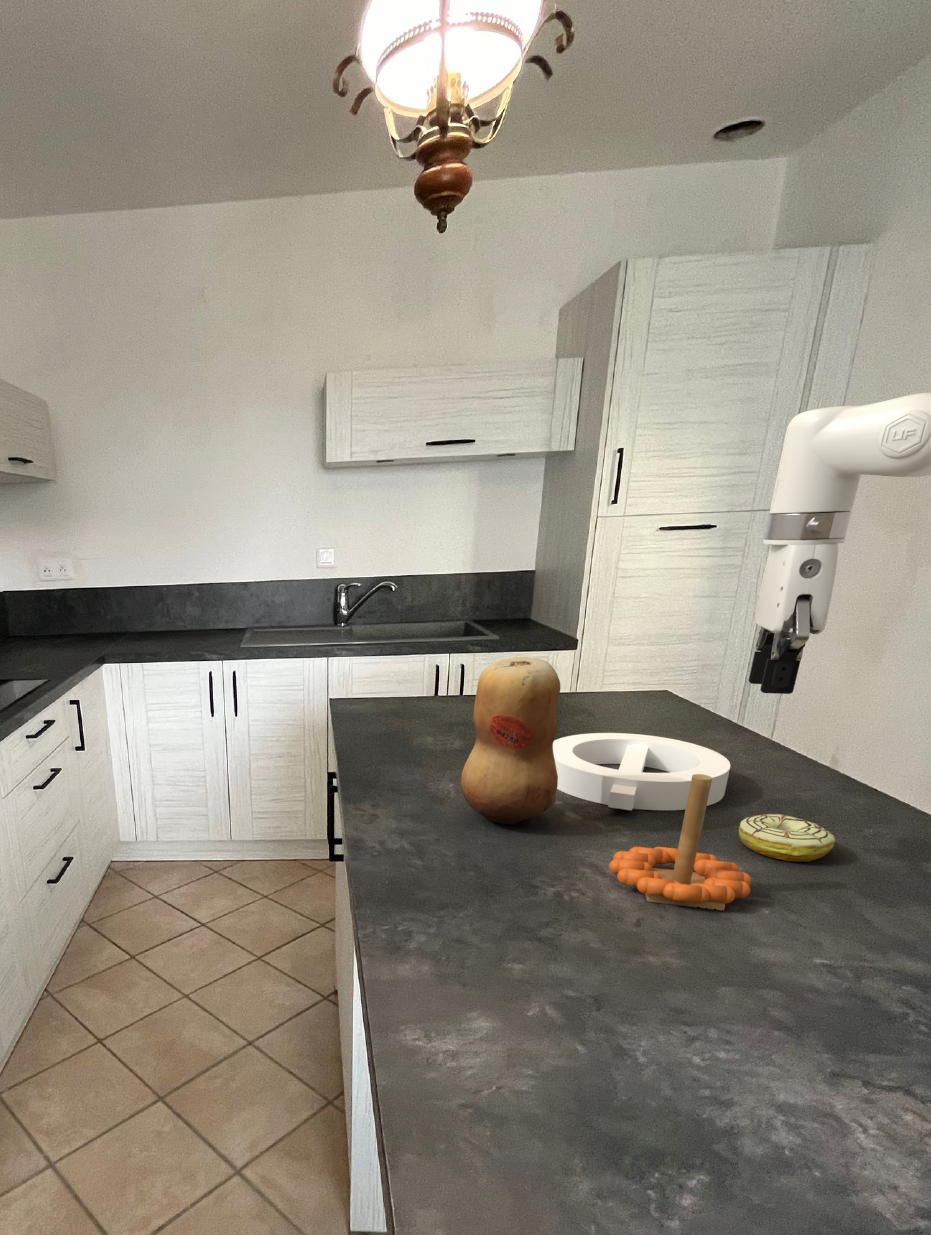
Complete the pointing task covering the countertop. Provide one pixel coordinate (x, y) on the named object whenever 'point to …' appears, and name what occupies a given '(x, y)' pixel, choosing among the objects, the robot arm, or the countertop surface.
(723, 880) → the ring
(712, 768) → the white circle with bar
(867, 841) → the countertop surface
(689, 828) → the post
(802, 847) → the decorated donut
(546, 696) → the butternut squash
